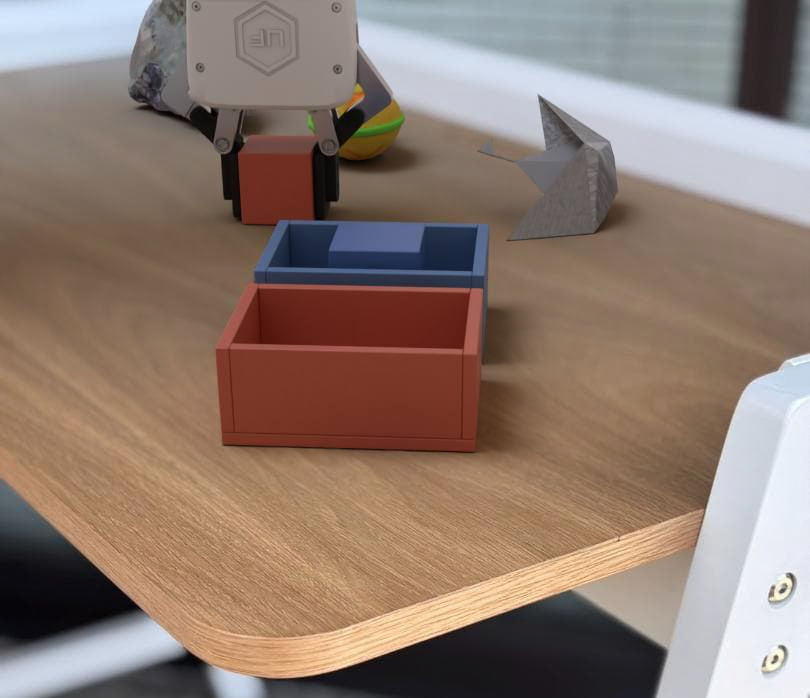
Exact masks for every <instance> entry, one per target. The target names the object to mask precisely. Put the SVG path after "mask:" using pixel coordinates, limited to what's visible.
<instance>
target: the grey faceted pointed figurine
mask: <svg viewBox="0 0 810 698" xmlns="http://www.w3.org/2000/svg"><path fill="white" fill-rule="evenodd" d="M537 99H538V107H539V111H540V112H539V113H540V118H541V125H542V131H543V137H544V144H545V150H544V151H541V152H537V153H535V154H534V153H533V154H531V155H528V156H525V157H522V158H519V159H511V158H508V157H505V156H501V155H497V154H494V144H493V138H490V139H489V140H488V141H487V142H486V143H485V144H483V145H482V146H480V147H479V148H478V149H477V150H476V152H477V153H481V154H483V155H487V156H489V157H494V158H497V159H501V160H505V161H507V162H508V161H509V162H510V163H515V165H516V166H518V168H519V169H520V170H521V171H522V172H523V173H524V174H525V175H526V176H527V177H528V178H529V179H530V181H531V182H532V183H533V184H534V185H535V186H536V187H537V188H538V189H539V190H540V191H541V193H542V195H541V197H539V199H538V200H537V201H536V203H535V204H534V205H533V207H532V208H530V210H529V211H528V213H527V214H526V215H525V217H523V219H522V220H521V222H520V223H518V225H517V227H516V228H515V229H514V230H513V231H512V232H511V234H510V235H509V237H508V238H507V239H506V242H507V241H518V240H530V239H541V238H552V237H564V236H574V235H586V234H587V235H588V234H595V232H596V231H597V230H598V229H599V228H600V226H601V225H602V223H603V222H604V220H605V219H606V216H607V215H608V212H609V210H610V209H611V206H612V204H613V202H614V200H615V198H616V196H617V195H618V192H619V187H618V178H617V170H616V169H617V168H616V167H617V166H616V161H615V160H616V159H615V154H614V151H613V147H612V144H611V141H610V140H608V139H607V138H605V137H604V136H603V135H601V134H600V133H598V132H596V131H595V130H594V129H592V128H590V127H589V126H588V125H586V124H585V123H583V122H582V121H579V120H578V119H577V118H575V117H574V116H572V115H571V114H569V113H567V112H566V111H564V110H563V109H561V108H560V107H559V106H557V105H556V104H554V103H553V102H551V101H549V100H547V99H546V98H545V97H543V96H542V95H540V94H538V93H537Z"/></svg>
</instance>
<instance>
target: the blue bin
mask: <svg viewBox="0 0 810 698" xmlns="http://www.w3.org/2000/svg"><path fill="white" fill-rule="evenodd" d="M339 223H382V224H424V225H425V270H383V269H335V268H329V248H330V246H331V243H332V241H333V238H334V235H335V233H336V230H337V227H338V225H339ZM489 254H490V224H489V223H463V222H461V223H460V222H459V223H458V222H407V221H405V222H403V221H402V222H401V221H359V220H358V221H353V220H352V221H351V220H349V221H347V220H315V221H305V220H291V221H289V220H279V222H278V224H277V225H275V228H274V230H273V232H272V234H271V236H270V237H269V240H268V242H267V243H266V246H265V248H264V250H263V252H262V253H261V256H260V257H259V260H258V262H257V264H256V266H255V268H254V270H253V280H254V284H259V285H260V284H297V285H343V286H389V287H436V288H470V290H471V289H472V288H480V289H483V325H482V364H483V363H484V351H485V340H486V327H487V318H488V317H487V315H488V305H489V304H488V303H489V302H488V301H489V300H488V299H489V297H488V296H489V261H490V259H489V257H490V255H489Z"/></svg>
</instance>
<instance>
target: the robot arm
mask: <svg viewBox="0 0 810 698" xmlns="http://www.w3.org/2000/svg"><path fill="white" fill-rule="evenodd" d="M357 11H358V10H357V0H187V2H186V23H187V53H186V55H185V56H184V58H183V59H182V61H181V62H180V64H179V66H178V67H177V69H176V70H175V72H174V73H173V75H172V77H171V78H170V80H169V81H168V83H167V84H166V86H165V88H164V89H163V91H162V93H161V99H162V101H163V102H164V103H165V104H167V105H168V106H169V107H171V108H172V109H174V110H175V111H176V112H178V113H179V114H181V115H180V116H181V117H183V118H186V119H187V120H189V121H190V123H191V124H192V126H194V128H195V129H196V130H197V131H199V132H200V133H201V134H202V135H203V136H204V137H205V139H207V140H208V141H209V142H210V143H211V144H212V145H213V149H214V151H216V152H217V153H218V154H220V168H221V182H222V197H223V200H224V201H231V206H232V207H231V209H232V217H233V218H242V213H241V197H240V180H239V163H238V153H239V151H240V150H241V148H242V147H243V145H244V144H245V142H246V141H245V142H244V136H243V135H242V134H241V133H242V128H243V122H244V116H245V115H244V112H245V109H255V110H264V111H266V110H269V111H271V110H272V111H274V110H275V111H307V110H309V111H310V114H311V118H312V122H313V125H314V129H315V133H316V136H317V140H318V141H317V143H316V152H315V154H314V156H313V159H312V167H313V195H314V216H316V219H322V220H323V219H324V220H325V219H326V218H327V216H328V213H329V211H330V209H331V203H338V202H339V200H340V157H339V152H338V150H339V149H340V148H341V147H342V146H343V145H344V144H345V143H346V142H347V141H348V140H349V139H350V137H351V136H352V135H353V134H354V133H355V132H356V131H357V130H358V129H359V128H360V127H361V126H362V125H363V124H364V123H366V122H367V121H368V120H370V119H372V118H373V117H374V116H376V115H377V114H378V113H380V112H381V111H382V110H384V109H385V108H387V107H388V106H389V105H390V104H391V101H392V99H393V98H394V91H393V90H392V88H391V87H390V85H389V83H388V82H387V81H386V80H385V78H384V77H383V76H382V74H381V73H380V71H379V70H378V68H377V67H376V66H375V64H374V63H373V62H372V60H371V59H370V57H369V56H368V55H367V53H366V52H365V51H364V49H363V47H361V45H360V38H359V37H360V36H359V25H358V23H359V22H358V12H357ZM357 84H359V85H360V87H361V88H362V89H363V91H364V97H362V98H361V99H360V100H359V101H358V102H356V103H355V104H353V105H351V106H350V107H349V108H348V109H347V110H346V111H345V112H344V113H343V114H342V115H341V116H340V117H339V114H338V111H337V107H340V106H342V105H344V104H346V103H347V102H348V101H349V100H350V99H351V97H352V96H353V94H354V92H355V87H356V86H357ZM214 108H219V113H218V112H217V111H216V110H215V109H214ZM310 114H309V115H310Z"/></svg>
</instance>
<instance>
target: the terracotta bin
mask: <svg viewBox="0 0 810 698" xmlns="http://www.w3.org/2000/svg"><path fill="white" fill-rule="evenodd" d="M482 325H483V289H480V288H472V289H471V290H470V288H436V287H389V286H343V285H297V284H260V285H259V284H255V283H247V284H246V285H245V287H244V290H243V292H242V294H241V296H240V297H239V300H238V302H237V304H236V306H235V308H234V310H233V312H232V315H231V316H230V318H229V320H228V322H227V324H226V326H225V328H224V330H223V332H222V334H221V336H220V338H219V339H218V342H217V344H216V346H215V348H214V349H215V350H214V351H215V364H216V379H217V393H218V407H219V419H220V421H219V422H220V431H221V434H220V435H221V436H220V437H221V443H222V445H228V446H229V445H231V446H261V447H262V446H264V447H265V446H266V447H297V448H300V447H301V448H330V449H331V448H334V449H365V450H366V449H369V450H397V451H398V450H402V451H434V452H465V453H466V452H467V453H469V452H470V453H474V452H476V447H477V435H478V424H479V423H478V422H479V421H478V420H479V412H480V411H479V410H480V400H481V399H480V398H481V386H482V371H483V370H482V369H483V368H482V366H483V365H482V364H483V363H482Z"/></svg>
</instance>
